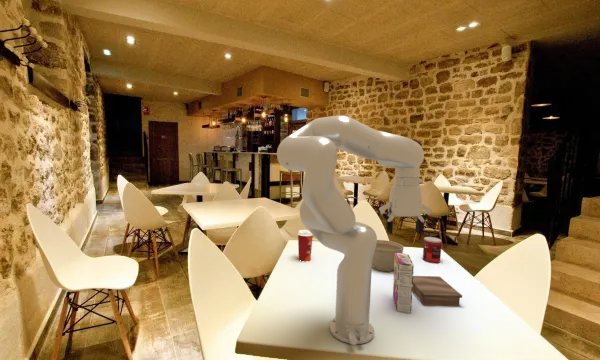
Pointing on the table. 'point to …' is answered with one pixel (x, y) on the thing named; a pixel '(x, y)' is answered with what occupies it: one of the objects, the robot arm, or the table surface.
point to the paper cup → (305, 244)
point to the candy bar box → (403, 282)
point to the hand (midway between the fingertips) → (404, 232)
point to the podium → (435, 291)
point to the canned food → (432, 250)
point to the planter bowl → (386, 254)
